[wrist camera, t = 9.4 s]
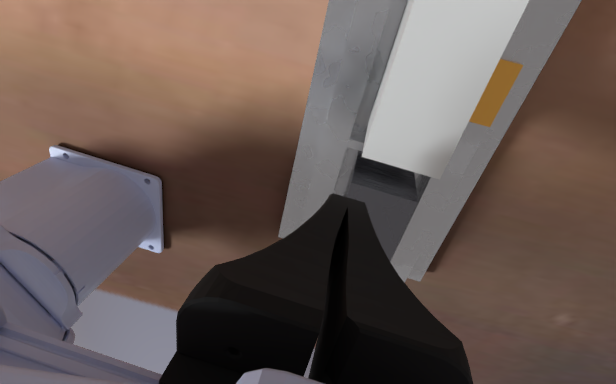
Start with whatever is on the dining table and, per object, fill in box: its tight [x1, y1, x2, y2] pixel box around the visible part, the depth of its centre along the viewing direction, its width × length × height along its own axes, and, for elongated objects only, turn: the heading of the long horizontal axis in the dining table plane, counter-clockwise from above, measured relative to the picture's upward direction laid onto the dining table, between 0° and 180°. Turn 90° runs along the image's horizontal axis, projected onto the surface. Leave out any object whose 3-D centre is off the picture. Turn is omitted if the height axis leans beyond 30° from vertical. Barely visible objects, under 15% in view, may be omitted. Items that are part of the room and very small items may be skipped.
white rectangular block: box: [362, 0, 529, 180], centre depth 15 cm, size 4×7×6 cm, turn 168°
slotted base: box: [278, 0, 582, 283], centre depth 19 cm, size 11×19×5 cm, turn 168°
